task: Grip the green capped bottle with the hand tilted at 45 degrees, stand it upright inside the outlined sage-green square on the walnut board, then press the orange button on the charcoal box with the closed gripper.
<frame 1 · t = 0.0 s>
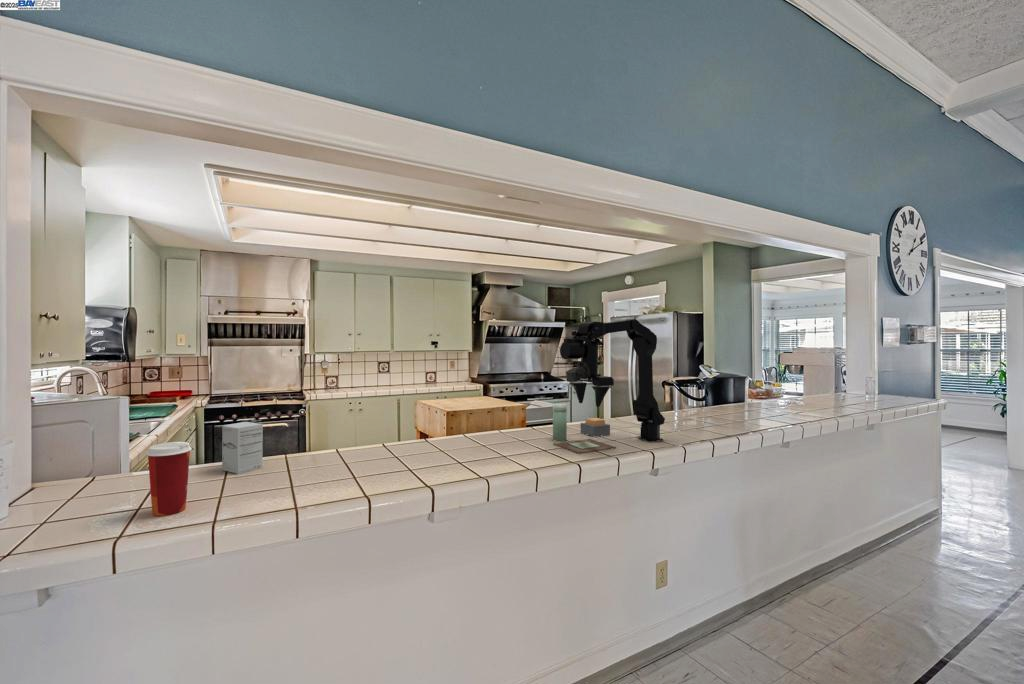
hand: (589, 404, 151), 15 cm above the countertop, tool pointing down, fingers open, 9 cm apart
done button: (595, 422, 174), point 5 cm above the countertop, slide at 0.0 cm
supplement box: (242, 470, 125), on the countertop
picture board: (584, 446, 154), on the countertop
green capped bottle: (559, 439, 164), on the countertop
paper cup: (169, 512, 95), on the countertop
button box: (595, 434, 174), on the countertop
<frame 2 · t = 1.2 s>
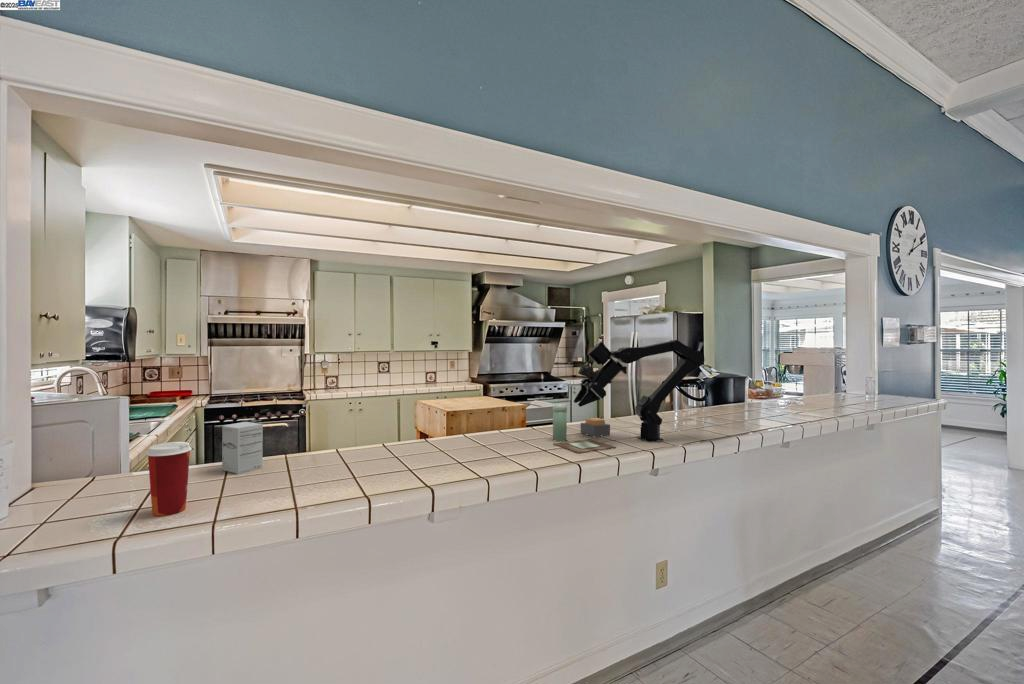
hand: (576, 403, 164), 13 cm above the countertop, tool tilted 45°, fingers open, 9 cm apart
nothing on the countertop moved.
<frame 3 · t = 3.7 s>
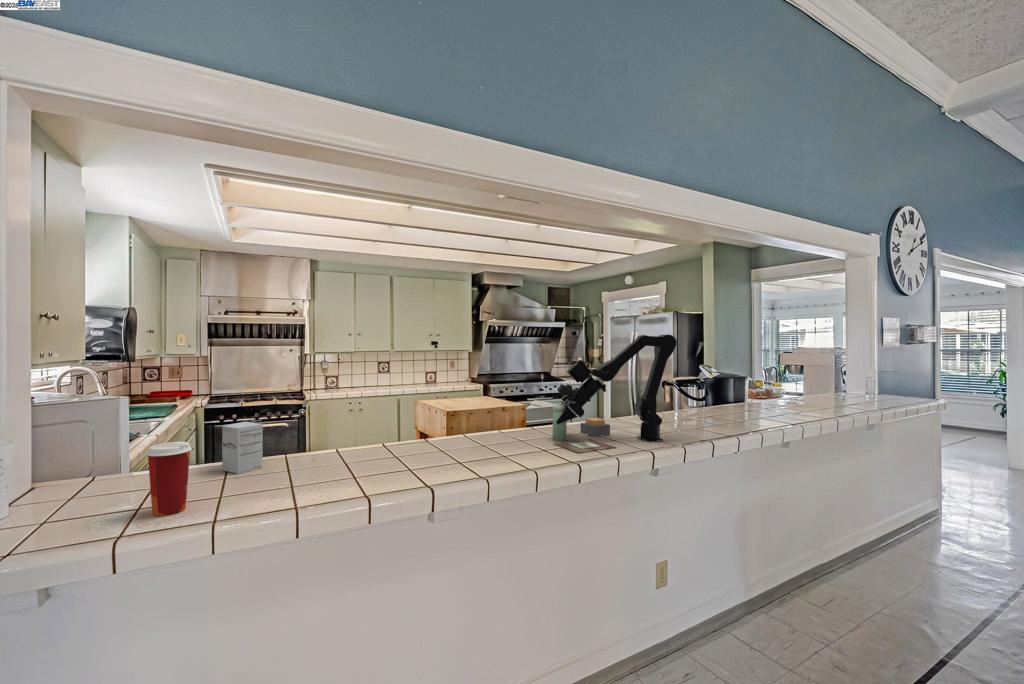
hand: (555, 421, 164), 7 cm above the countertop, tool tilted 45°, fingers closed on green capped bottle, 5 cm apart
green capped bottle: (559, 439, 164), on the countertop, touching gripper
everything else where it was.
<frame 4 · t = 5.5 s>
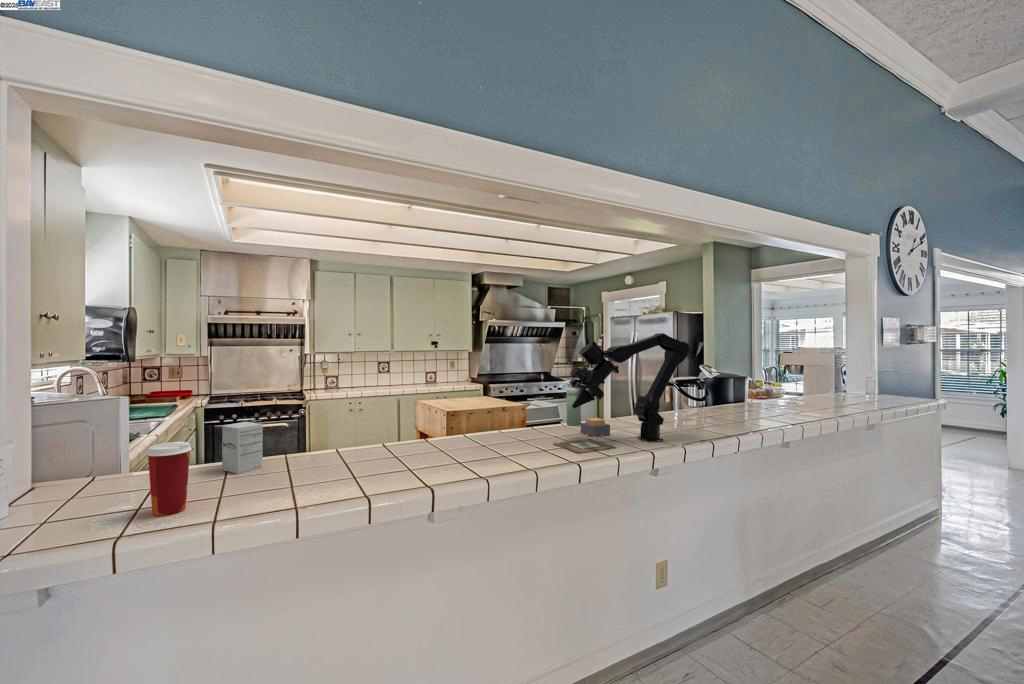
hand: (570, 406, 157), 13 cm above the countertop, tool tilted 45°, fingers closed on green capped bottle, 5 cm apart
green capped bottle: (573, 424, 158), point 7 cm above the countertop, touching gripper
everything else where it was.
when the fingers open (8 cm above the countertop, at t = 7.4 s): green capped bottle drops 1 cm, resting on picture board.
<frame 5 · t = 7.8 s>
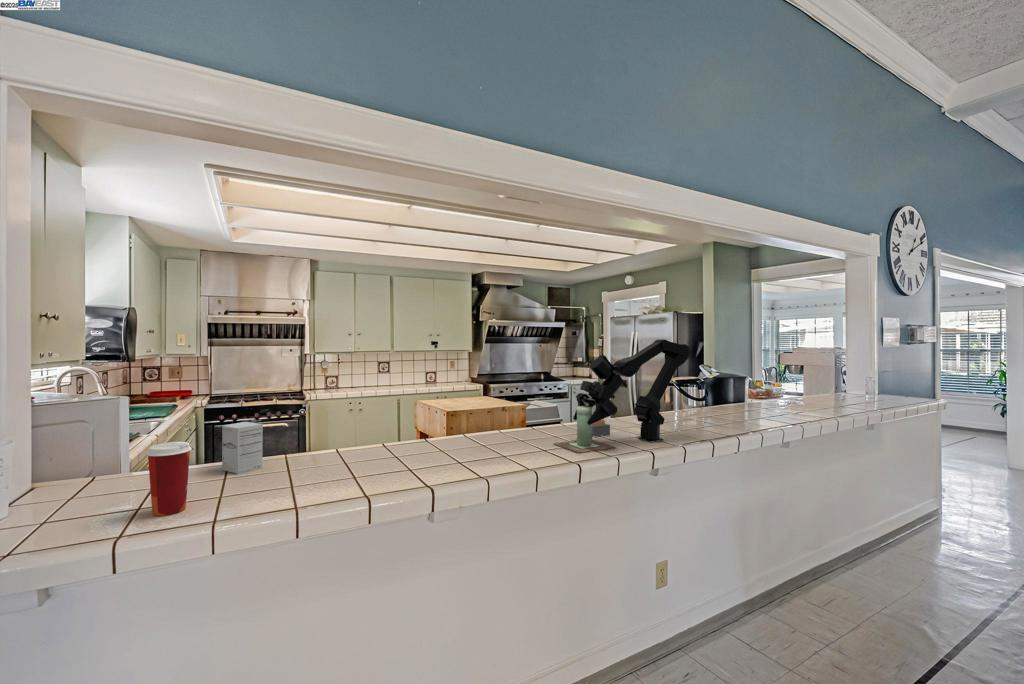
hand: (580, 421, 154), 9 cm above the countertop, tool tilted 45°, fingers open, 9 cm apart
green capped bottle: (584, 444, 154), point 1 cm above the countertop, touching picture board
everything else where it was.
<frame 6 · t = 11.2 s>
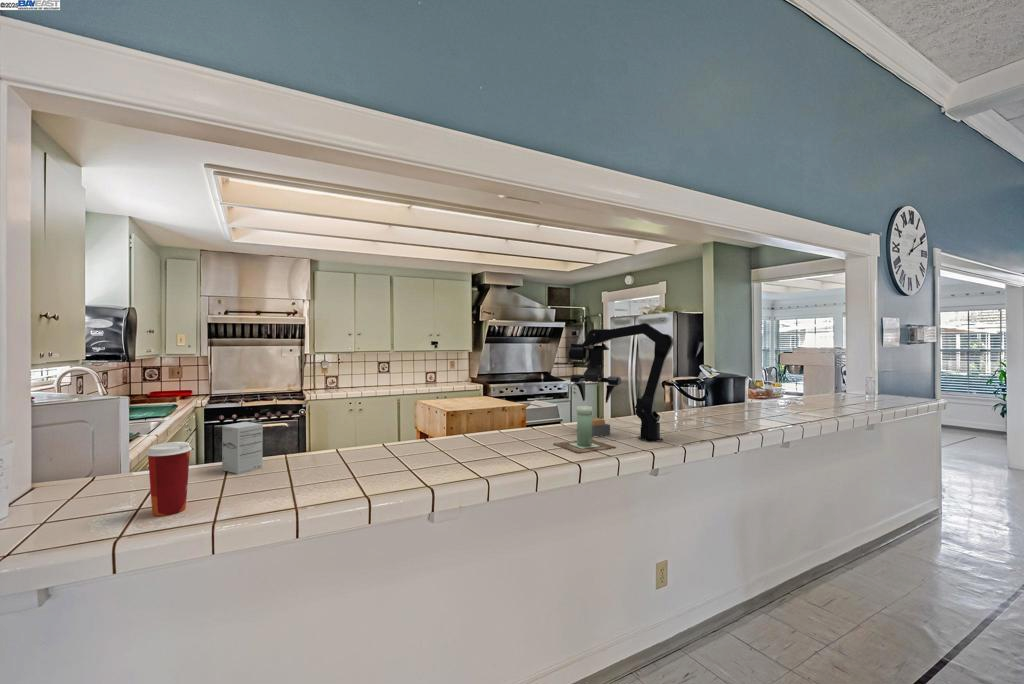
hand: (595, 401, 174), 13 cm above the countertop, tool pointing down, fingers open, 9 cm apart
nothing on the countertop moved.
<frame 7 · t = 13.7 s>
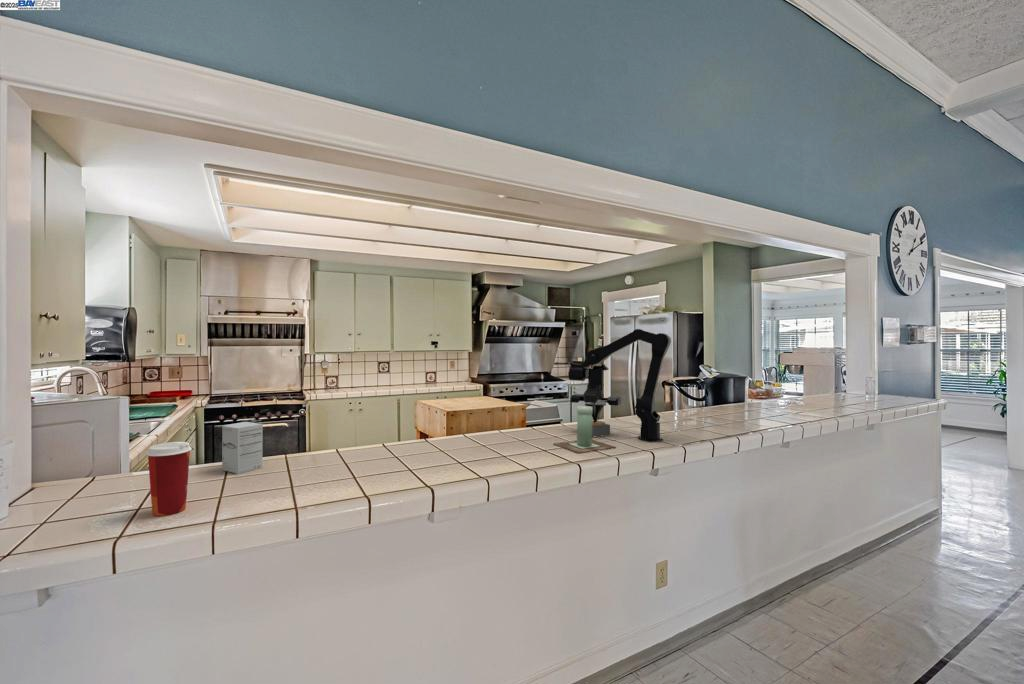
hand: (595, 421, 174), 5 cm above the countertop, tool pointing down, fingers closed, pressing on done button
done button: (595, 424, 174), point 4 cm above the countertop, slide at 1.0 cm, touching gripper
everything else where it was.
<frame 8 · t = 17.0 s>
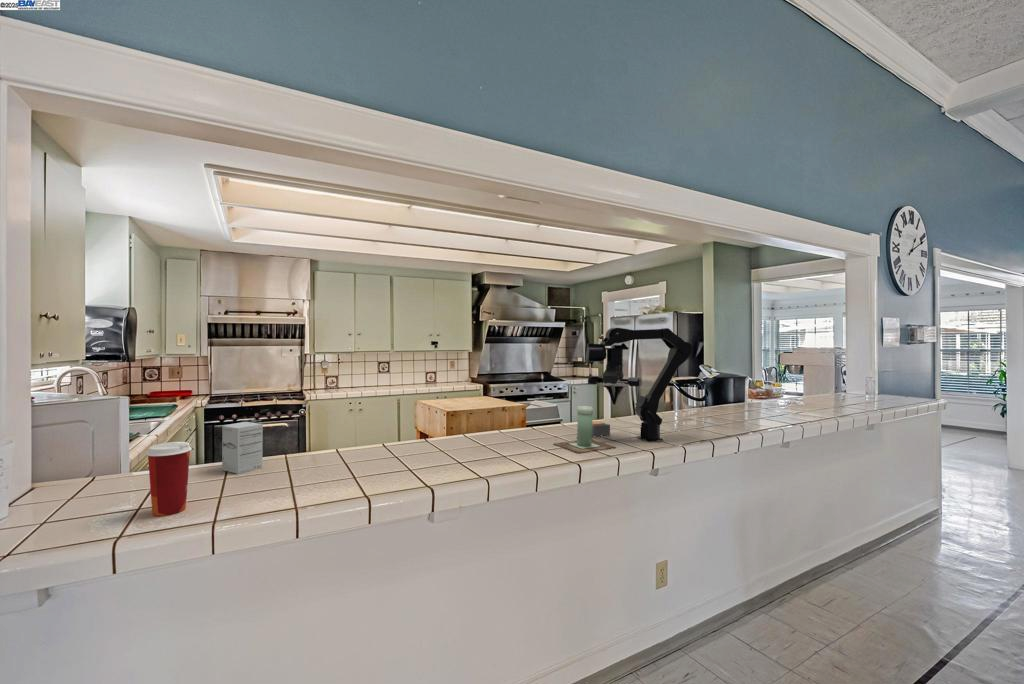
hand: (614, 404, 164), 13 cm above the countertop, tool pointing down, fingers closed
done button: (595, 425, 174), point 3 cm above the countertop, slide at 1.3 cm
everything else where it was.
at the end: green capped bottle inside the target area (0.0 cm from its centre), point 0.6 cm above the countertop; green capped bottle tilted 2°; done button slide at 1.3 cm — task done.
